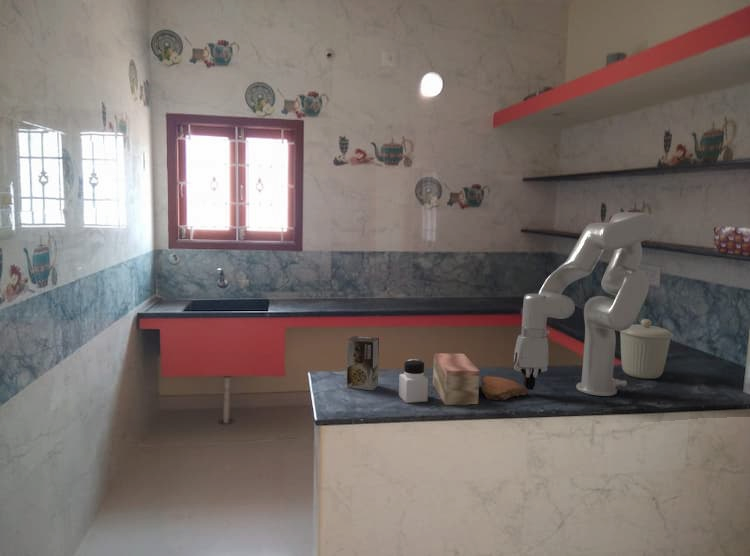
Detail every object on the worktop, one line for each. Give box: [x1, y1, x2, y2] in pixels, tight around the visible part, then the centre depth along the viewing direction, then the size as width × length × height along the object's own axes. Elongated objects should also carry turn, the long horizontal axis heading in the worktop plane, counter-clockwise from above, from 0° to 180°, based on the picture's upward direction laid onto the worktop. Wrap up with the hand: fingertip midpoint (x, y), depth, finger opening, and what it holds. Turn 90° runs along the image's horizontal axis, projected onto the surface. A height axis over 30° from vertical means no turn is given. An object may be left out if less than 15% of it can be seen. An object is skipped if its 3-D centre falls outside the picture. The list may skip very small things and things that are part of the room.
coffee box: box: [346, 335, 380, 391], centre depth 187 cm, size 9×6×16 cm
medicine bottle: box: [398, 358, 430, 404], centre depth 176 cm, size 7×7×12 cm
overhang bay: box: [432, 352, 481, 406], centre depth 182 cm, size 10×21×10 cm, turn 5°
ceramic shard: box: [481, 375, 528, 401], centre depth 184 cm, size 15×6×15 cm
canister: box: [619, 318, 674, 380], centre depth 210 cm, size 18×18×21 cm
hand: (529, 388), depth 185 cm, fingers closed
